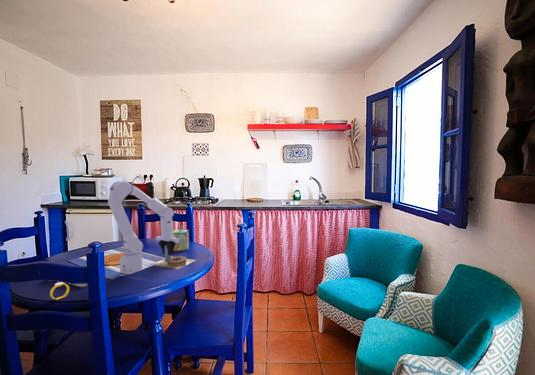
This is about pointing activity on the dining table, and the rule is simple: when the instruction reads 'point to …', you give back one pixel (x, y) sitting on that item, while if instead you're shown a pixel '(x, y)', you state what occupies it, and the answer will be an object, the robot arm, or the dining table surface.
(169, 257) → the peg
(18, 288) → the dining table surface
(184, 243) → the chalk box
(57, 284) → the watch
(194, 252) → the dining table surface
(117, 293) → the dining table surface
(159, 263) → the board
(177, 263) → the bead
